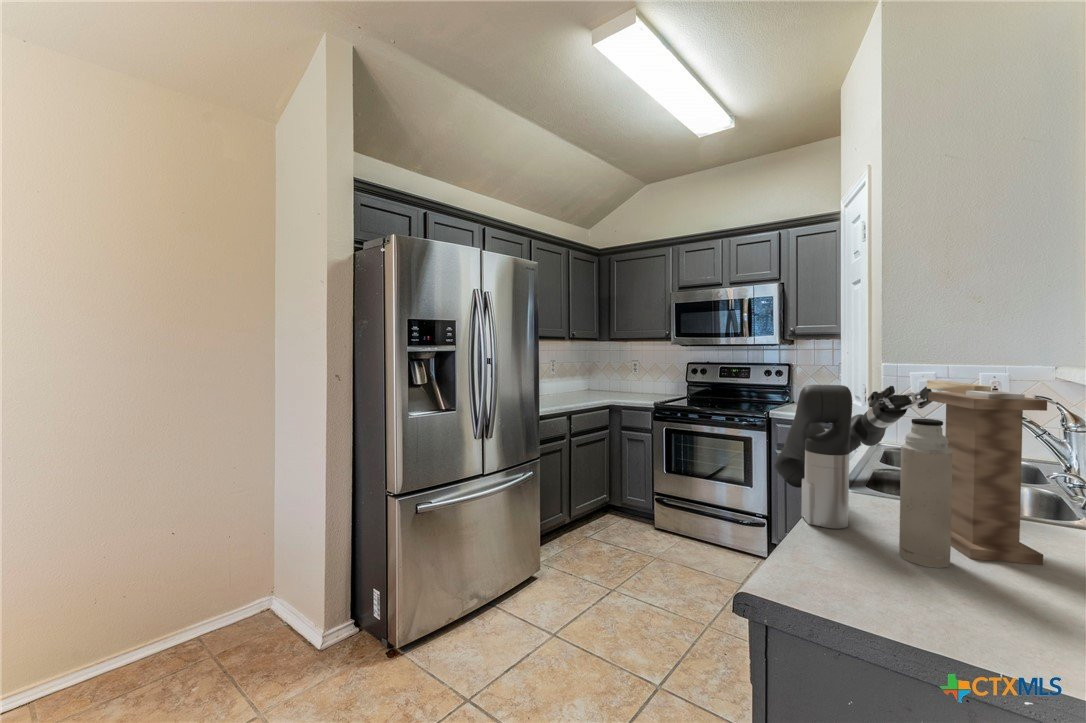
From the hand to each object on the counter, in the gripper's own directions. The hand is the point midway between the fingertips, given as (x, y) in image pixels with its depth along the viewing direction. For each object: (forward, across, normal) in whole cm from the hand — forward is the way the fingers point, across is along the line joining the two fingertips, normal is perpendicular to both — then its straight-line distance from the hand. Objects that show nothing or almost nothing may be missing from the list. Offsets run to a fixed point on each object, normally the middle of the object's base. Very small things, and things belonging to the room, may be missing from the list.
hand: (910, 389), depth 130 cm
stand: (+11, 0, -41) cm, 43 cm away
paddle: (+22, 0, -11) cm, 24 cm away
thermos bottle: (+20, +15, -46) cm, 53 cm away
